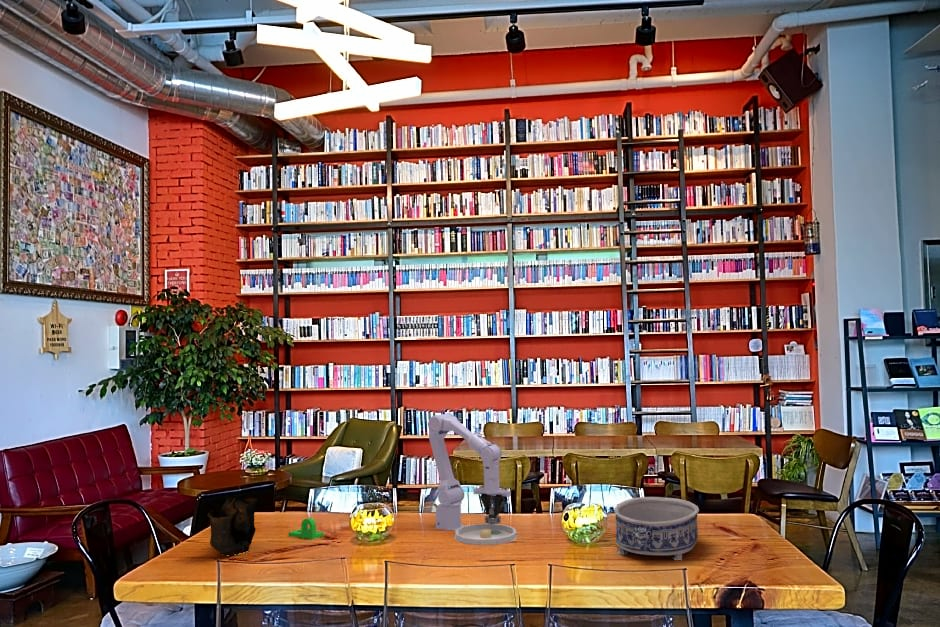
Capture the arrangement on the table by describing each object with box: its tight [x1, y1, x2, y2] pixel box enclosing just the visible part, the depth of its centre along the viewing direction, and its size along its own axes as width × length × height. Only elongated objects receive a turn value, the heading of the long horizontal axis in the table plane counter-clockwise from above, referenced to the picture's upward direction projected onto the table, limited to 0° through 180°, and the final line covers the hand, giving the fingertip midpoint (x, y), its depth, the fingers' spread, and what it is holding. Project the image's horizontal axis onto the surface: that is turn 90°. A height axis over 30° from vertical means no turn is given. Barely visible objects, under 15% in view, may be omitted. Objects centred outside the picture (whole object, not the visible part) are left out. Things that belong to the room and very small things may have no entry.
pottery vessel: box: [207, 496, 259, 556], centre depth 252 cm, size 25×11×20 cm, turn 170°
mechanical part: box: [288, 517, 325, 540], centre depth 272 cm, size 12×6×8 cm, turn 59°
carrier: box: [454, 523, 518, 546], centre depth 265 cm, size 23×23×3 cm
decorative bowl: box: [613, 496, 700, 561], centre depth 245 cm, size 42×27×15 cm, turn 153°
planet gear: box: [484, 505, 502, 524], centre depth 270 cm, size 6×6×6 cm
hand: (492, 514), depth 270 cm, fingers closed on planet gear, 3 cm apart
